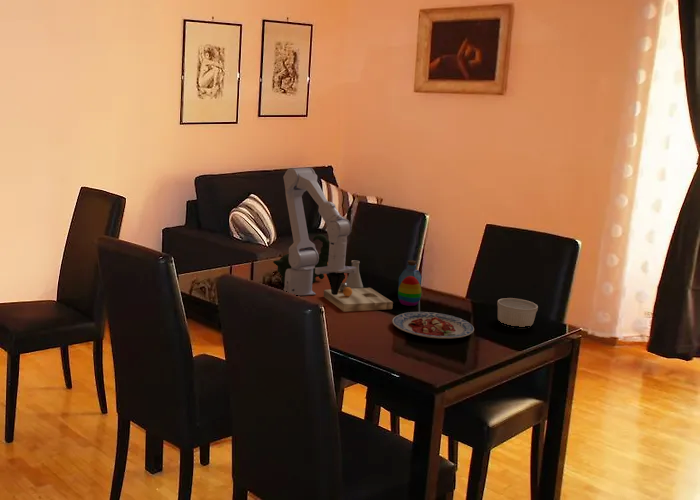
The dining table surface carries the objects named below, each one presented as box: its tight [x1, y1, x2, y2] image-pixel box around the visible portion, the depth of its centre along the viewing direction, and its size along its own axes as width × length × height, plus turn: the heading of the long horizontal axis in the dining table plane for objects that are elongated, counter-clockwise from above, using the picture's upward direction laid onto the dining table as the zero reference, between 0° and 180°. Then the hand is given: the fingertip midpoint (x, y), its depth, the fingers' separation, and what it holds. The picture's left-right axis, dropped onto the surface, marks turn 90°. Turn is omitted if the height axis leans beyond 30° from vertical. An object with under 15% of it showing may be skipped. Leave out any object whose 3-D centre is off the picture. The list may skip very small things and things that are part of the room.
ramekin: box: [496, 297, 539, 327], centre depth 268 cm, size 13×13×7 cm
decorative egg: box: [397, 276, 422, 307], centre depth 281 cm, size 8×8×10 cm
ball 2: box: [343, 287, 352, 296], centre depth 276 cm, size 3×3×3 cm
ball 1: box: [339, 282, 348, 291], centre depth 281 cm, size 3×3×3 cm
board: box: [322, 287, 394, 313], centre depth 278 cm, size 18×18×2 cm
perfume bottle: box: [397, 259, 422, 290], centre depth 295 cm, size 6×6×12 cm
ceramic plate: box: [391, 311, 475, 340], centre depth 254 cm, size 26×26×3 cm
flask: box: [344, 259, 364, 289], centre depth 297 cm, size 7×7×10 cm
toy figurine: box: [272, 233, 330, 284], centre depth 298 cm, size 9×19×25 cm
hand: (334, 294), depth 274 cm, fingers closed
